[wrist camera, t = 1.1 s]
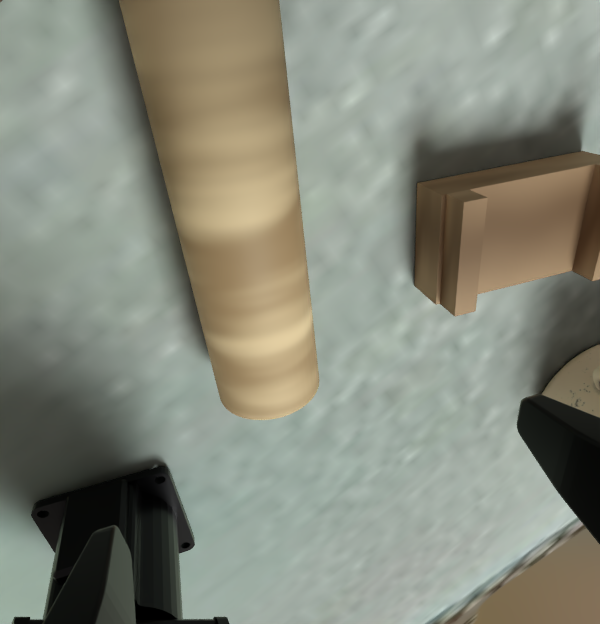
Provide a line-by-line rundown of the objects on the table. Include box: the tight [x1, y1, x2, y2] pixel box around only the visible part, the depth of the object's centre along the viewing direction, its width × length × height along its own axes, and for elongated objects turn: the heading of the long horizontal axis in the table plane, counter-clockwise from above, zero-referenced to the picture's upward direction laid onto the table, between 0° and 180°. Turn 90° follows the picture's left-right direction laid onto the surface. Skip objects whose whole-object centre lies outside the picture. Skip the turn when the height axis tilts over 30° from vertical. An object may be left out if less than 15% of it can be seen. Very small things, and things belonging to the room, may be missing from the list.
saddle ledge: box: [414, 151, 600, 316], centre depth 20 cm, size 5×8×3 cm, turn 96°
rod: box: [119, 0, 319, 420], centre depth 16 cm, size 16×4×4 cm, turn 6°
